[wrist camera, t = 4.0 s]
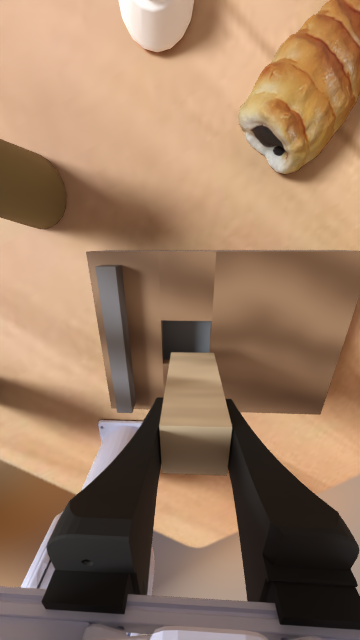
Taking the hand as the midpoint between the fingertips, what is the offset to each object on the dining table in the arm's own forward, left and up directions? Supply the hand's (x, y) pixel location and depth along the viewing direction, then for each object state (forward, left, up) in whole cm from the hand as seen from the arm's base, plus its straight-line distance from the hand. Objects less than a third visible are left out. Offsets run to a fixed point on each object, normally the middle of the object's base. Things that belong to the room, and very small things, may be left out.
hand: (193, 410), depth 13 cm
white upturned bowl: (+26, +3, -11) cm, 28 cm away
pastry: (+20, -8, -11) cm, 24 cm away
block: (0, 0, -4) cm, 4 cm away
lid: (+2, -2, -7) cm, 8 cm away
